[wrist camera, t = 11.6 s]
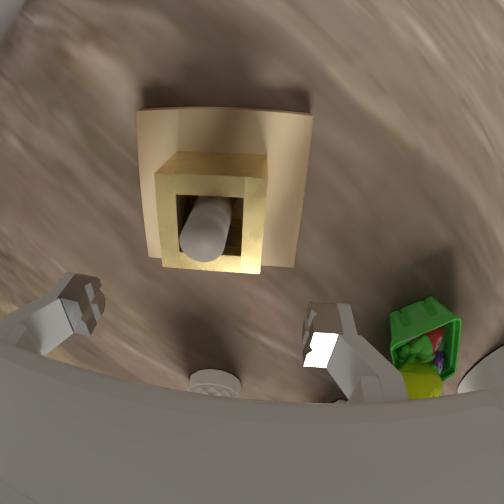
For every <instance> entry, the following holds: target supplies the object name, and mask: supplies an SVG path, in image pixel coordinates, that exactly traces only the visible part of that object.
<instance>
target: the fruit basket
mask: <svg viewBox="0 0 504 504" xmlns="http://www.w3.org/2000/svg"><path fill="white" fill-rule="evenodd" d="M461 323H462V320H461V318H459V317H458V316H457V315H455V314H452V313H451V312H450V311H449V310H448V309H446V308H445V307H444V306H443V305H442V304H441V303H439V302H438V301H437V300H436V299H435V298H434V297H432V296H430V297H428V298H426V299H425V300H424V301H418V302H416V303H413V304H411V305H409V306H406V307H404V308H402V309H400V311H393V312H391V313H390V326H391V343H390V351H391V356H392V361H393V366H394V367H395V368H396V369H397V370H398V371H399V372H400V373H401V374H402V376H403V379H404V383H405V387H406V390H407V394H408V398H409V400H413V399H423V398H431V397H439V396H440V394H441V391H442V384H443V383H442V381H444V380H446V379H448V378H450V377H451V376H453V375H454V374H455V373H456V370H457V361H458V353H459V344H460V334H461Z"/></svg>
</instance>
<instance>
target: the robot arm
mask: <svg viewBox="0 0 504 504" xmlns="http://www.w3.org/2000/svg"><path fill="white" fill-rule="evenodd" d="M100 287H101V282H100V279H99V278H97V277H93V276H88V275H82V274H76V273H71V272H67V273H65V274H64V275H63V277H62V278H61V279H60V280H59V282H58V283H57V284H56V285H55V287H54V288H53V289H52V290H51V292H50V293H49V294H48V296H46V295H44V296H42V297H40V298H38V299H36V300H34V301H33V302H31V303H29V304H27V305H25V306H23V307H21V308H19V309H17V310H16V311H14V312H12V313H10V314H8V315H6V316H4V317H3V318H2V320H1V321H0V504H504V346H502V347H500V348H499V349H497V350H496V351H494V352H493V353H491V354H490V355H488V356H487V357H486V358H484V359H483V360H482V361H480V362H479V363H478V364H477V365H476V366H475V367H474V368H473V369H472V370H471V371H470V372H469V373H468V374H467V375H466V376H465V377H464V379H463V380H462V381H461V383H460V385H459V387H458V394H453V395H447V396H439V397H431V398H423V399H413V400H409V398H408V394H407V390H406V387H405V383H404V379H403V376H402V374H401V373H400V372H399V371H398V370H397V369H396V368H395V367H394V366H393V365H392V364H391V363H390V362H389V361H388V360H387V359H386V358H385V357H384V356H382V355H381V354H380V353H379V352H378V351H377V350H376V349H375V348H374V347H373V346H372V345H371V344H370V343H369V342H368V341H367V340H366V339H365V338H363V337H362V336H360V335H358V334H357V330H356V326H355V322H354V318H353V314H352V310H351V306H350V305H349V304H341V303H336V304H335V303H320V302H309V304H308V307H307V317H306V318H305V319H304V323H303V330H302V343H303V344H304V345H305V346H304V350H303V361H304V366H312V367H326V369H327V371H328V372H329V373H330V375H331V376H332V377H333V379H334V380H335V382H336V383H337V384H338V386H339V387H340V388H341V390H342V391H343V393H344V394H345V395H346V397H347V398H348V401H347V402H346V403H299V402H278V401H264V400H252V399H241V398H232V397H223V396H215V395H208V394H200V393H194V392H187V391H181V390H175V389H170V388H164V387H159V386H154V385H149V384H144V383H140V382H135V381H131V380H126V379H122V378H118V377H114V376H110V375H106V374H102V373H98V372H95V371H91V370H88V369H84V368H81V367H77V366H74V365H71V364H67V363H64V362H61V361H58V360H55V359H52V358H49V357H46V356H44V355H46V354H47V353H48V352H50V351H51V350H52V349H53V348H55V347H56V346H57V345H59V344H60V343H61V342H63V341H64V340H65V339H66V338H68V337H69V336H70V335H72V334H73V332H76V333H80V334H85V335H91V334H92V332H93V330H94V328H95V327H96V325H97V323H96V319H98V318H99V317H101V316H102V314H103V312H104V309H105V297H104V294H103V293H102V292H101V290H100Z"/></svg>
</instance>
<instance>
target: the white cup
mask: <svg viewBox="0 0 504 504" xmlns="http://www.w3.org/2000/svg"><path fill="white" fill-rule="evenodd" d="M186 391H187V392H194V393H200V394H208V395H215V396H223V397H232V398H241V396H242V386H241V383H240V380H239V379H237V378H236V377H235V376H234V375H232V374H230V373H227V372H225V371H222V370H215V369H205V370H199V371H197V372H195V373H193V374H192V375H191V377H190V380H189V383H188V387H187V390H186Z"/></svg>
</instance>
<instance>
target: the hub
mask: <svg viewBox="0 0 504 504" xmlns="http://www.w3.org/2000/svg"><path fill="white" fill-rule="evenodd" d="M154 180H155V194H156V207H157V218H158V228H159V238H160V247H161V256H162V264H163V267H173V268H185V269H198V270H211V271H224V272H238V273H252V274H260V266H261V255H262V243H263V231H264V220H265V208H266V196H267V183H268V159H267V155H263V154H248V153H229V152H202V151H177V152H176V153H175V154H174V155H173V156H172V157H171V158H170V159H169V160H167V161H166V162H165V163H164V164H163V165H162V166H161V167H160V168H159V169H158V170H157V171H156V172H155V173H154ZM195 195H202V196H222V197H239V198H244V208H243V219H234V218H231V221H230V225H229V230H228V234H227V239H226V243H225V248H224V251H223V253H222V254H221V256H220V257H218V258H217V259H215V260H213V261H210V262H199V261H195V260H193V259H191V258H189V257H188V256H187V255H186V254H185V253H184V252H183V250H182V249H181V246H180V242H179V239H180V234H181V232H182V230H183V228H184V226H185V224H186V222H187V220H188V218H189V215H190V213H191V211H192V209H193V207H194V205H195Z"/></svg>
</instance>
